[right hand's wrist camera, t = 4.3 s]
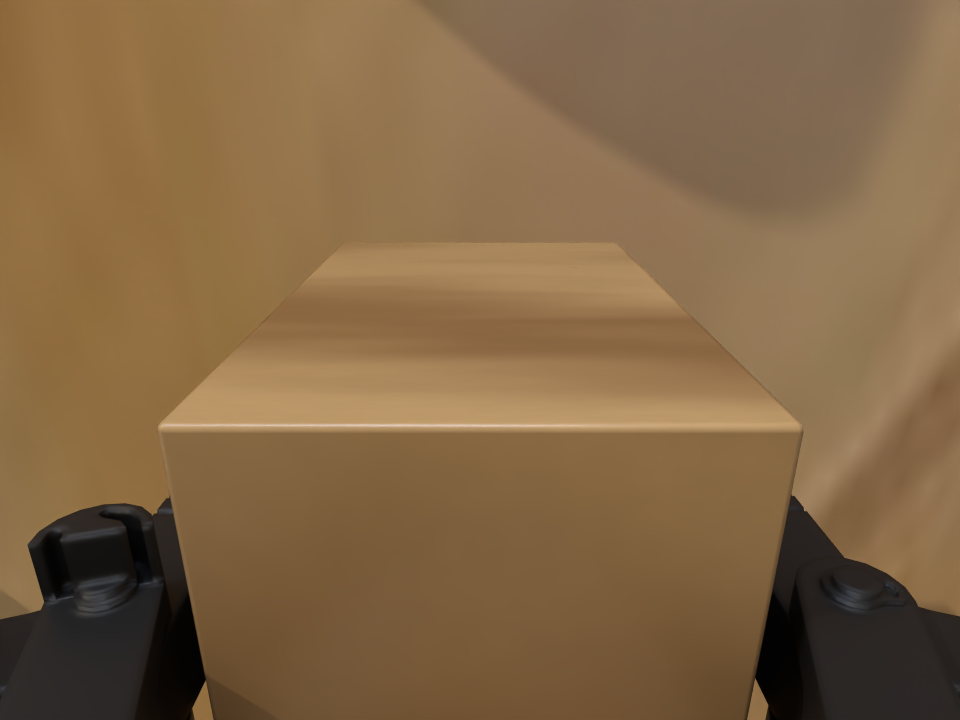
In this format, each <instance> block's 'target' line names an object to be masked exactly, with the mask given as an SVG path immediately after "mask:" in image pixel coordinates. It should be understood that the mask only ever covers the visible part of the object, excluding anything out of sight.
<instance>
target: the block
mask: <svg viewBox="0 0 960 720" xmlns="http://www.w3.org/2000/svg"><path fill="white" fill-rule="evenodd" d="M802 436H803V427H802V424H801V423H800V422H799V421H798V420H797V419H796V418H795V417H794V416H793V415H792V414H791V413H790V412H789V411H788V410H787V409H786V408H785V407H784V406H783V405H782V404H781V403H780V402H779V401H778V400H777V399H776V398H775V397H774V396H773V395H772V394H771V393H770V392H769V391H768V390H767V389H766V388H765V387H764V386H763V385H762V384H760V383H759V382H758V381H757V380H756V379H755V378H754V377H753V376H752V375H751V374H750V373H749V372H748V371H747V370H746V369H745V368H744V367H743V366H742V365H741V364H740V363H739V362H738V361H737V360H736V359H735V358H734V357H733V356H732V355H731V354H730V353H729V352H728V351H727V350H726V349H725V348H724V347H723V346H722V345H721V344H720V343H719V342H718V341H716V340H715V339H714V338H713V337H712V336H711V335H710V334H709V333H708V332H707V331H706V330H705V329H704V328H703V327H702V326H701V325H700V324H699V323H698V322H697V321H696V320H695V319H694V318H693V317H692V316H691V315H690V314H689V313H688V312H687V311H686V310H685V309H684V308H683V307H682V306H681V305H680V304H679V303H678V302H677V301H676V300H675V299H674V298H672V297H671V296H670V295H669V294H668V293H667V292H666V291H665V290H664V289H663V288H662V287H661V286H660V285H659V284H658V283H657V282H656V281H655V280H654V279H653V278H652V277H651V276H650V275H649V274H648V273H647V272H646V271H645V270H644V269H643V268H642V267H641V266H640V265H639V264H638V263H637V262H636V261H635V260H634V259H633V258H632V257H631V256H630V255H628V254H627V253H626V252H625V251H624V250H623V249H622V248H621V247H620V246H619V245H618V244H617V243H344V244H342V245H341V246H340V247H339V248H338V249H337V250H336V251H335V252H334V253H333V254H332V255H331V256H330V257H329V258H328V259H327V260H326V261H325V262H324V263H323V264H322V265H321V266H320V267H319V268H318V269H317V270H316V271H315V272H314V273H313V274H312V275H311V276H309V277H308V278H307V279H306V280H305V281H304V282H303V283H302V284H301V285H300V286H299V287H298V288H297V289H296V290H295V291H294V292H293V293H292V294H291V295H290V296H289V297H288V298H287V299H286V300H285V301H284V302H283V303H282V304H281V305H280V306H279V307H278V308H277V309H276V310H275V311H274V312H273V313H272V314H271V315H270V316H269V317H268V318H267V319H266V320H265V321H264V322H262V323H261V324H260V325H259V326H258V327H257V328H256V329H255V330H254V331H253V332H252V333H251V334H250V335H249V336H248V337H247V338H246V339H245V340H244V341H243V342H242V343H241V344H240V345H239V346H238V347H237V348H236V349H235V350H234V351H233V352H232V353H231V354H230V355H229V356H228V357H227V358H226V359H225V360H224V361H223V362H222V363H221V364H220V365H219V366H218V367H217V368H216V369H214V370H213V371H212V372H211V373H210V374H209V375H208V376H207V377H206V378H205V379H204V380H203V381H202V382H201V383H200V384H199V385H198V386H197V387H196V388H195V389H194V390H193V391H192V392H191V393H190V394H189V395H188V396H187V397H186V398H185V399H184V400H183V401H182V402H181V403H180V404H179V405H178V406H177V407H176V408H175V409H174V410H173V411H172V412H171V413H170V414H169V415H167V416H166V417H165V418H164V419H163V420H162V421H161V422H160V423H159V427H158V437H159V442H160V447H161V452H162V457H163V462H164V467H165V473H166V478H167V483H168V488H169V493H170V498H171V503H172V508H173V514H174V519H175V524H176V529H177V534H178V539H179V544H180V549H181V555H182V560H183V565H184V570H185V575H186V580H187V585H188V590H189V596H190V601H191V606H192V611H193V616H194V621H195V626H196V631H197V637H198V642H199V647H200V652H201V657H202V662H203V667H204V672H205V678H206V683H207V688H208V693H209V698H210V703H211V708H212V713H213V718H214V720H747V717H748V712H749V706H750V701H751V696H752V691H753V686H754V681H755V676H756V671H757V666H758V661H759V655H760V650H761V645H762V640H763V635H764V630H765V625H766V620H767V615H768V610H769V604H770V599H771V594H772V589H773V584H774V579H775V574H776V569H777V564H778V559H779V554H780V548H781V543H782V538H783V533H784V528H785V523H786V518H787V513H788V508H789V503H790V497H791V492H792V487H793V482H794V477H795V472H796V467H797V462H798V457H799V452H800V446H801V441H802Z"/></svg>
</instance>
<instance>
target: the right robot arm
mask: <svg viewBox="0 0 960 720" xmlns="http://www.w3.org/2000/svg"><path fill="white" fill-rule="evenodd" d="M28 548H29V552H30V555H31V558H32V562H33V565H34V568H35V572H36V575H37V579H38V582H39V585H40V589H41V592H42V596H43V599H44V604H43V606H42V609H41V610H40V611H36V612H32V613H29V614H24V615H19V616H15V617H10V618H5V619H0V720H195V719H194V715H193V710H192V707H193V705H194V703H195V701H196V699H197V697H198V695H199V693H200V691H201V689H202V687H203V685H204V682H205V680H206V678H205V672H204V667H203V662H202V657H201V652H200V647H199V642H198V637H197V631H196V626H195V621H194V616H193V611H192V606H191V601H190V596H189V590H188V585H187V580H186V575H185V570H184V565H183V560H182V555H181V549H180V544H179V539H178V534H177V529H176V524H175V519H174V514H173V508H172V503H171V498H170V497H169V498H166V500H165V501H164V502H163V503H162V505H161V506H160V507H159V508H158V510H157V514H154V515H153V516H152V514H151V513H149V512H148V511H147V510H145V509H144V508H143V507H141V506H136V505H131V504H126V503H123V504H104V505H100V506H95V507H91V508H87V509H83V510H79V511H77V512H74V513H72V514H70V515H67V516H65V517H62V518H60V519H58V520H56V521H55V522H53V523H51V524H50V525H48V526H47V527H45V528H44V529H42V530H41V531H39V532H38V533H37V534H36V536H35V537H34V538H33V539H32V540H31V541H30V542H29V544H28ZM755 678H756V680H757V682H758V684H759V687H760V689H761V691H762V693H763V695H764V697H765V699H766V701H767V703H768V710H767V715H766V719H765V720H960V616H955V615H950V614H945V613H941V612H936V611H931V610H928V609H924V608H920V607H918V605H917V603H916V601H915V600H914V598H913V597H912V596H911V594H910V593H909V592H908V590H907V589H906V588H905V587H904V586H903V585H902V584H900V583H899V582H898V581H896V580H895V579H894V578H892V577H891V576H890V575H888V574H887V573H885V572H883V571H880V570H878V569H876V568H874V567H872V566H870V565H868V564H865V563H862V562H858V561H854V560H850V559H847V558H844V557H843V555H842V554H841V553H840V552H839V550H838V549H837V548H836V547H835V546H834V544H833V543H832V542H831V541H830V539H829V538H828V537H827V536H826V534H825V533H824V532H823V531H822V530H821V528H820V527H819V526H818V525H817V523H816V522H815V521H814V520H813V518H812V517H811V516H810V515H809V514H808V512H807V511H804V507H803V506H802V505H801V504H800V502H799V501H798V500H797V499H796V498H795V496H792V495H791V497H790V503H789V508H788V513H787V518H786V523H785V528H784V533H783V538H782V543H781V548H780V554H779V559H778V564H777V569H776V574H775V579H774V584H773V589H772V594H771V599H770V604H769V610H768V615H767V620H766V625H765V630H764V635H763V640H762V645H761V650H760V655H759V661H758V666H757V671H756V676H755Z"/></svg>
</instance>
